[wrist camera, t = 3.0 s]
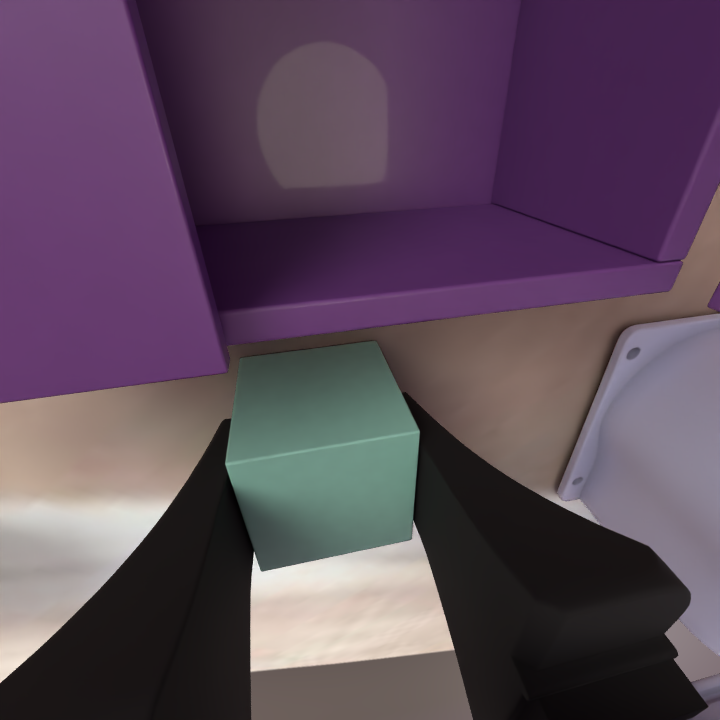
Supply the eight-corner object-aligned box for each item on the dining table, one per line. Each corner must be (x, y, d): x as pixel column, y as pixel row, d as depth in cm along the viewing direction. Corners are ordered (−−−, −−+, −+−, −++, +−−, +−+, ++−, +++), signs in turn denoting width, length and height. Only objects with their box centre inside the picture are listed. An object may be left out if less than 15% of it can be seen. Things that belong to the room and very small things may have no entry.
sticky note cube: (377, 436, 14) (412, 540, 10) (263, 455, 13) (260, 573, 10) (376, 339, 12) (421, 431, 8) (239, 356, 11) (224, 464, 8)
